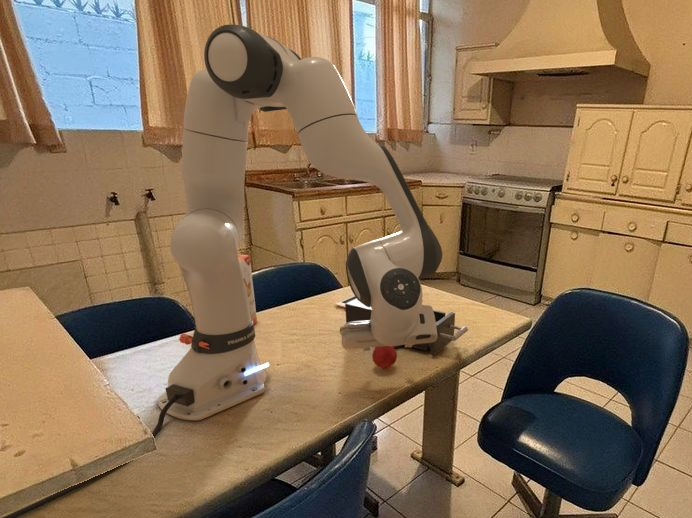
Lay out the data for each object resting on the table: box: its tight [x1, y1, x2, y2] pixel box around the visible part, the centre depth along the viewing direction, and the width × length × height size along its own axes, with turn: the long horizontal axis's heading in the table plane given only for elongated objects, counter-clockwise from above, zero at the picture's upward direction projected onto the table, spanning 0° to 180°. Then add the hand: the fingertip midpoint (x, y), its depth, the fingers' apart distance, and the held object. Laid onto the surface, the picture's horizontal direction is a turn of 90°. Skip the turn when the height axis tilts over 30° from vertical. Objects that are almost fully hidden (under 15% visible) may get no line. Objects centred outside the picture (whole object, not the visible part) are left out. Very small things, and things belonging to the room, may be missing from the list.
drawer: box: [411, 309, 469, 356], centre depth 121 cm, size 20×11×8 cm, turn 60°
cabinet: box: [344, 299, 402, 350], centre depth 128 cm, size 17×13×10 cm
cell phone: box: [335, 295, 357, 309], centre depth 154 cm, size 8×16×1 cm, turn 148°
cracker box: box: [238, 254, 258, 326], centre depth 126 cm, size 14×6×21 cm, turn 179°
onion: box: [371, 346, 398, 371], centre depth 109 cm, size 6×6×8 cm
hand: (387, 346), depth 103 cm, fingers open, 8 cm apart
